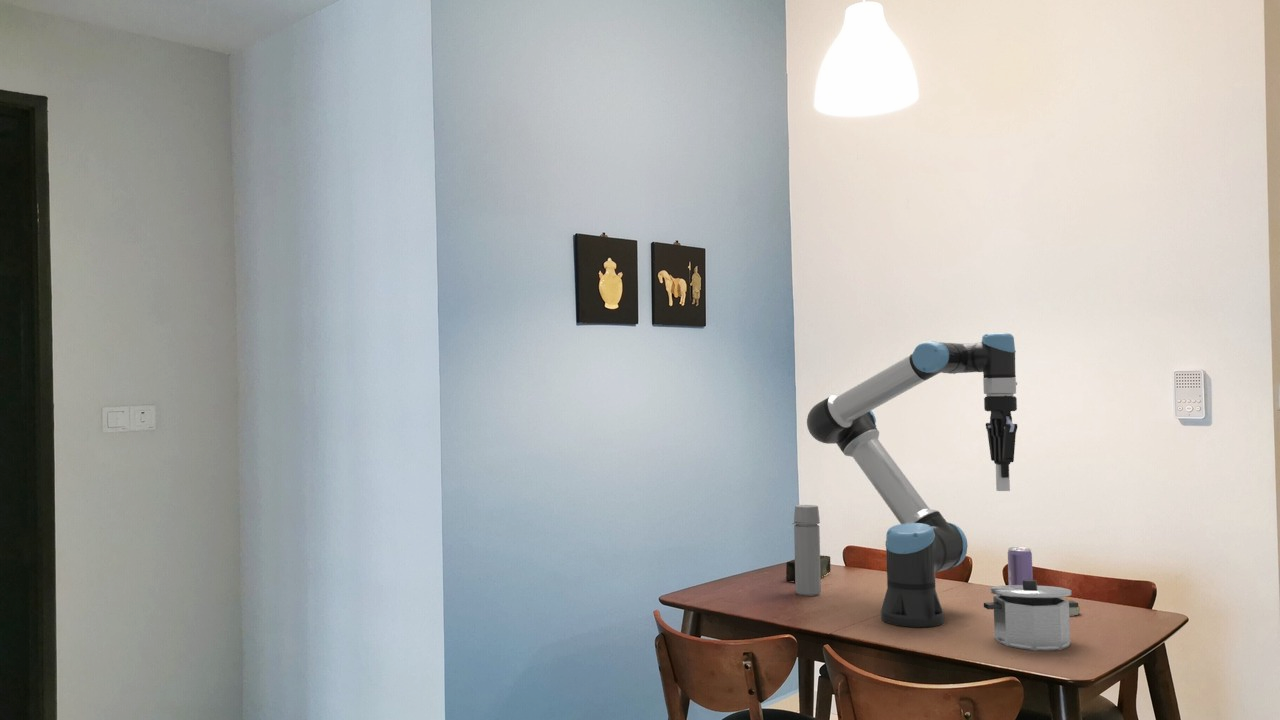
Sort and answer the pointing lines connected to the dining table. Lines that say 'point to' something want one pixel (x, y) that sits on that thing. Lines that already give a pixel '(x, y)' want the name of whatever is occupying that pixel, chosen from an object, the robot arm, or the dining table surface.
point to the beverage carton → (823, 568)
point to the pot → (1032, 622)
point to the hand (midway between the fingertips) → (1003, 490)
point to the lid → (1030, 590)
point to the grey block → (1073, 610)
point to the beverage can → (1019, 565)
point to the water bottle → (807, 550)
